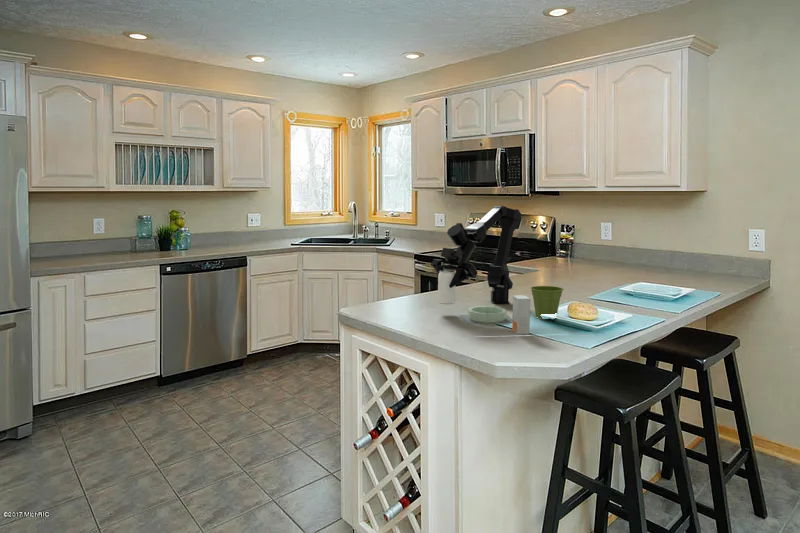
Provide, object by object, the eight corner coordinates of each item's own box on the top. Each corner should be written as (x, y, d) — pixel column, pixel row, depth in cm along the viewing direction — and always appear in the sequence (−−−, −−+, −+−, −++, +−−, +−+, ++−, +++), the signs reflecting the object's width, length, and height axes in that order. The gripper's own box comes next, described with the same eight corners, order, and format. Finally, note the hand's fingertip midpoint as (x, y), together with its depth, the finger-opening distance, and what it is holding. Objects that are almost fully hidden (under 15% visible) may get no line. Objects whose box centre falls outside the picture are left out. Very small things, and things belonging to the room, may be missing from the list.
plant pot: (562, 316, 206) (564, 286, 204) (562, 323, 195) (563, 291, 193) (530, 314, 209) (531, 284, 208) (527, 320, 198) (528, 289, 197)
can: (454, 304, 202) (454, 272, 201) (437, 304, 204) (437, 271, 202) (456, 301, 209) (456, 269, 207) (439, 300, 210) (439, 269, 208)
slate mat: (505, 314, 207) (505, 313, 207) (517, 323, 194) (517, 322, 194) (458, 316, 205) (458, 314, 205) (467, 325, 191) (467, 323, 191)
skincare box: (511, 330, 184) (512, 295, 183) (524, 330, 185) (525, 295, 183) (516, 335, 178) (518, 298, 177) (529, 335, 179) (531, 298, 177)
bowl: (499, 314, 207) (499, 305, 206) (510, 322, 194) (510, 313, 193) (464, 315, 205) (464, 306, 205) (473, 323, 192) (473, 314, 192)
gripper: (434, 238, 212) (414, 269, 205) (473, 241, 198) (453, 275, 192) (447, 256, 218) (428, 287, 212) (485, 261, 205) (467, 294, 199)
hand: (443, 286), depth 204 cm, fingers closed on can, 6 cm apart
